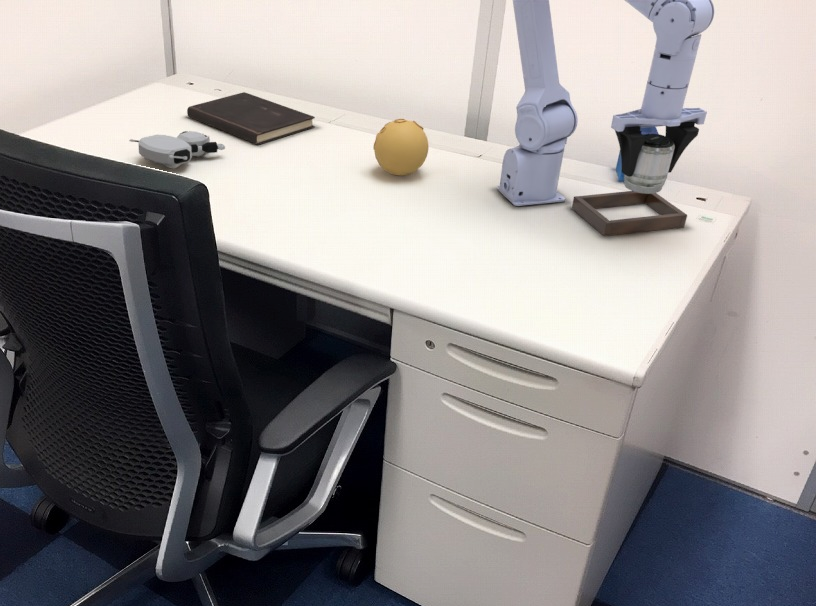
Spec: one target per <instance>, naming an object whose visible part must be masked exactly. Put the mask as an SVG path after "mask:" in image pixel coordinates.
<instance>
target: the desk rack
mask: <svg viewBox="0 0 816 606" xmlns="http://www.w3.org/2000/svg"><path fill="white" fill-rule="evenodd" d="M644 204H645V205H647V206H648V207H650V208H651V209H652V210H654V211H655V212H656V213H658V215H649V216H639V217H629V218H622V219H610V220H609V218H607V217H606V216H605V215H603V214H602V213H601V212H600V211H598V210H597V209H602V208H603V209H604V208H614V207H615V208H616V207H622V206H633V205H634V206H635V205H644ZM571 209H572V210H573V211H574V212H575V213H576V214H577V215H579V216H580V217H581V218H582V219H583V220H585V222H587V223H588V224H589V225H590V226H591V227H593V228H594V229H595V230H596V231H598V232H599V233H600V234H601V235H602V236H603V237H605V236H606V237H607V236H617V235H625V234H634V233H643V232H653V231H662V230H671V229H681V228H685V225H686V222H687V219H688V214H687V213H685V212H684V211H683V210H682V209H680V208H678V207H677V206H675V205H674V204H672V203H671V202H669V201H668V200H667V199H665V198H664V197H662V196H661V195H660V194H658V192H657V193H651V194H645V193H638V192H634V191H631V190H627V191H616V192H615V191H614V192H605V193H597V194H587V195H586V194H585V195H575V196H573V199H572V205H571Z"/></svg>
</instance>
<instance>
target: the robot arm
mask: <svg viewBox="0 0 816 606" xmlns="http://www.w3.org/2000/svg"><path fill="white" fill-rule="evenodd" d="M624 1H625V3H628V4H629V5H630V6H631V7H632V8H634V9H635V10H636V11H638V12H639V13H640V14H641V15H643V16H644V17H645V18H646V19H647V20H649V21H650V22H652V28H653V31H654V33H655V36H656V41H655V46H654V47H655V48H654V51H653V56H652V60H651V65H650V69H649V73H648V76H647V77H648V78H647V81H646V84H645V85H646V86H645V89H644V94H643V99H642V102H641V107H640V108H638V109H635V110H632V111H628V112H624V113H619V114H613V115H612V120H611V125H610V128H611V129H612V130H614V132H615V135H616V138H617V142H618V145H619V152H620V151H621V166H622V170H621V172H622V173H623V174H625V175H626V176H628V177H630V176H632V175H633V173H634V171H635V167H636V163H637V159H638V156H639V153H640V151H641V148H642V146H643V144H644V143H645V141H646V139H647V137H646V136H644V135H643V134H641V132H642V131H640V128H647V127H656V128H658V127H665V134H664V136H666V137H667V138H669V139H671V140H672V141H673V142H674V145H675V149H674V152H673V156H672V160H671V164H670V167H669V171H668V174H669V173H672V171H673V170H674V168H675V166H676V164H677V163H678V161H679V159H680V157H681V156H682V154H683V153H684V151H685V150H686V148H688V146H689V145H690V144H691V142H693V141H694V139H696V138H697V137H698V135H699V133H700V129H699V127H697V126H695V125H698V126H699V125H704V124H705V121H706V116H707V113H708V111H707V110H704V109H703V108H700V107H684V104H685V100H686V98H687V97H686V96H687V94H688V89H689V86H690V82H691V77H692V74H693V71H694V66H695V62H696V58H697V55H698V50H699V48H700V47H699V46H700V42H701V38H702V33H704V32H705V31H706V30H707V29H708V28H709V27H710V25H712V22H713V20H714V17H715V6H714V3H713V1H712V0H624ZM512 5H513V6H512V7H513V11H514V20H515V27H516V34H517V35H516V36H517V42H518V48H519V49H518V50H519V55H520V57H519V58H520V64H521V71H522V75H523V76H522V77H523V83H524V84H523V86H524V92H523V95H522V96H521V98H520V100H519V101H518V103H517V104H516V106H515V108H516V121H515V125H514V134H515V138H516V140H517V142H518V144H519V145H517V146H514V147H511V148H508V149H507V150H506V151H505V153H504V155H503V159H502V166H501V173H500V179H499V186H497V187H496V189H497V191H498V192H500V194H502V195H503V196H504V197H505V198H506V199H507V200H508V201H509V202H510V203H511V204H512V205H513V206H514V207H522V206H531V205H532V206H533V205H543V204H552V203H563V202H565V201H566V198H565V196H563V195H562V194H560V192H559V191H557V190H558V187H559V180H560V175H561V169H562V164H563V158H564V152H565V147H566V145H567V142H568V138H569V137H571V136H572V135H574V133H575V132H576V129H577V127H578V113H577V111H576V109H575V107H574V106H573V104H572V101H571V94H570V92H569V91H568V90H567V89H566V88H565V87H564V86H563V85H562V84H561V83H560V77H559V69H558V60H557V53H556V45H555V37H554V29H553V21H552V13H551V7H550V0H512Z"/></svg>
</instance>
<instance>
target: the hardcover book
mask: <svg viewBox="0 0 816 606" xmlns="http://www.w3.org/2000/svg"><path fill="white" fill-rule="evenodd" d="M186 113H187V117H188V118H190V119H192V120H196V121H198V122H201V123H203V124H206V125H208V126H210V127H212V128H214V129H215V128H216V129H218V130H221V131H222V132H225V133H228V134H231V135H233V136H235V137H238V138H240V139H243V140H245V141H247V142H249V143H252V144H255V145H257V146H260V145H263V144H266V143H270V142H273V141H275V140H279V139H282V138H286V137H289V136H291V135H295V134H298V133H301V132H305V131H308V130H311V129H314V128H316V126H315V125H313V120H314V119H316V117H315V116H313V115H311V114H308V113H306V112H302V111H300V110H297V109H294V108H290V107H288V106H285V105H282V104H279V103H276V102H274V101H271V100H268V99H265V98H262V97H259V96H256V95H254V94H251V93H248V92H246V91H243V92H240V93H239V92H238V93H235V94H232V95H228V96H224V97H220V98H218V99H217V98H216V99H213V100H209V101H206V102H205V101H204V102H201V103H197V104H193V105H190V106H188V107H187V109H186Z"/></svg>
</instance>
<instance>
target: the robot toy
mask: <svg viewBox="0 0 816 606" xmlns="http://www.w3.org/2000/svg"><path fill="white" fill-rule="evenodd" d="M129 142H131V143H137V144H138V154H139V156H141V157H142V158H143V159H144V160H147V161H149V162H151V163H154V164H157V165H163V166H166V167H167V168H169V169H177V168H178V167H180V166H181V165H182V164H185V163H189V162H190V161H191V159H192V158H193V157H197V158H198V157H202V156H204V154H205V153H207V154H213V153H218V150H220V151H223V150H225V149H226V145H225V144H223V143H217V142H216V141H211V139H210V136H209V135H206V134H204V133H201V132H198V131H192V130H189V131H187V130H185V131H182V132H181V133H179V134H178V135H177V136H171V135H166V134H153V135H148V136H143V137H141V138H140V139H139V140H138V139H131V138H130V139H129Z"/></svg>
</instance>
